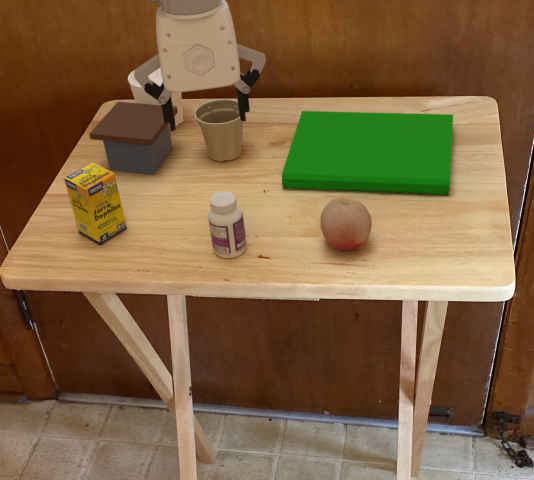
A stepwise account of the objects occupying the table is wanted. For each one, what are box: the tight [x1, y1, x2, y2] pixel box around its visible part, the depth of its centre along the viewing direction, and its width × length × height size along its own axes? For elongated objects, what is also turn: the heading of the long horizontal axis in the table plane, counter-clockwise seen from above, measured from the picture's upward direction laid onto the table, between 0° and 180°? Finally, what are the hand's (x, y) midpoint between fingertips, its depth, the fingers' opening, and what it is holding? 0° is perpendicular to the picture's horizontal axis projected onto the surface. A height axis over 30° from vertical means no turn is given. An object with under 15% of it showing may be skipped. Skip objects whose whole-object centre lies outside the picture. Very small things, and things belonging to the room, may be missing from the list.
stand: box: [88, 101, 178, 175], centre depth 149 cm, size 12×12×8 cm
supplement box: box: [63, 161, 128, 246], centre depth 132 cm, size 6×6×11 cm
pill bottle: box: [207, 191, 247, 259], centre depth 126 cm, size 5×5×10 cm
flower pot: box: [193, 98, 247, 162], centre depth 148 cm, size 9×9×9 cm
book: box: [281, 110, 454, 196], centre depth 145 cm, size 22×28×3 cm
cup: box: [127, 68, 184, 131], centre depth 158 cm, size 10×10×10 cm
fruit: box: [319, 197, 373, 252], centre depth 125 cm, size 8×8×8 cm
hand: (207, 121), depth 112 cm, fingers open, 9 cm apart
